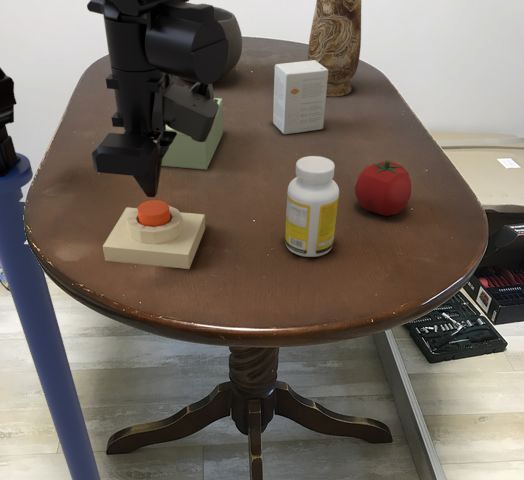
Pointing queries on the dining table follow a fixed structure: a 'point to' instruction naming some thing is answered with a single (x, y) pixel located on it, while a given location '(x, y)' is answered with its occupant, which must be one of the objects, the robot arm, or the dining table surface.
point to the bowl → (229, 38)
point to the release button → (153, 213)
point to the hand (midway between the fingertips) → (151, 195)
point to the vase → (336, 42)
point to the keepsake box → (194, 148)
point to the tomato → (383, 188)
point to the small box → (299, 96)
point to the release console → (155, 240)
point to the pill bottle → (311, 207)
